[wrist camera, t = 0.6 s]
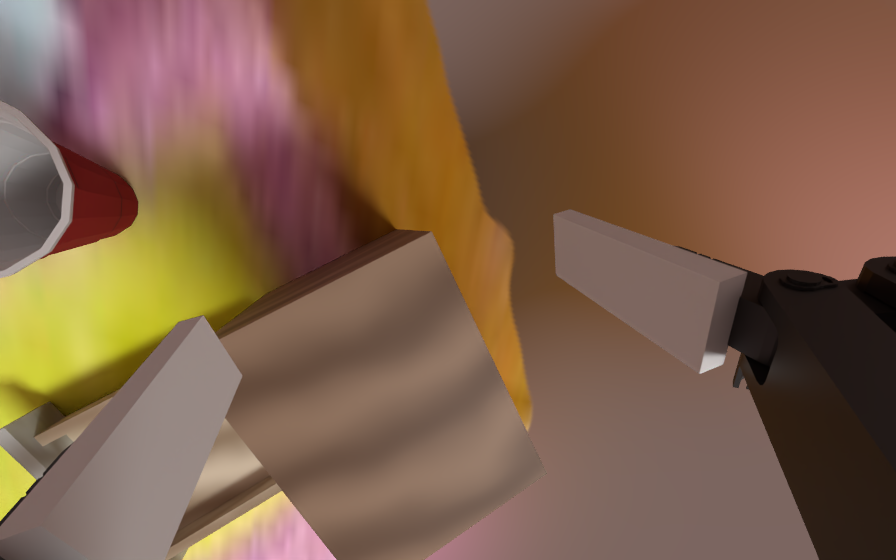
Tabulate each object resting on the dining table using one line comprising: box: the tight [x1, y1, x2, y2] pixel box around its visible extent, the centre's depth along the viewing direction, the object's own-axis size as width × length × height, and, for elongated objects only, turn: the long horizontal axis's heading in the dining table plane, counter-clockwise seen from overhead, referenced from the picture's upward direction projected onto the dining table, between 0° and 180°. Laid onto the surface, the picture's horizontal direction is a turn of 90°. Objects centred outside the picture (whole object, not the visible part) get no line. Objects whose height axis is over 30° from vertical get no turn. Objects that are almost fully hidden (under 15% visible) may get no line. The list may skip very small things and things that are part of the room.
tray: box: [0, 389, 282, 560], centre depth 31 cm, size 20×20×4 cm
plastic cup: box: [0, 100, 138, 278], centre depth 22 cm, size 11×11×12 cm
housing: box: [215, 229, 547, 560], centre depth 28 cm, size 20×14×17 cm
